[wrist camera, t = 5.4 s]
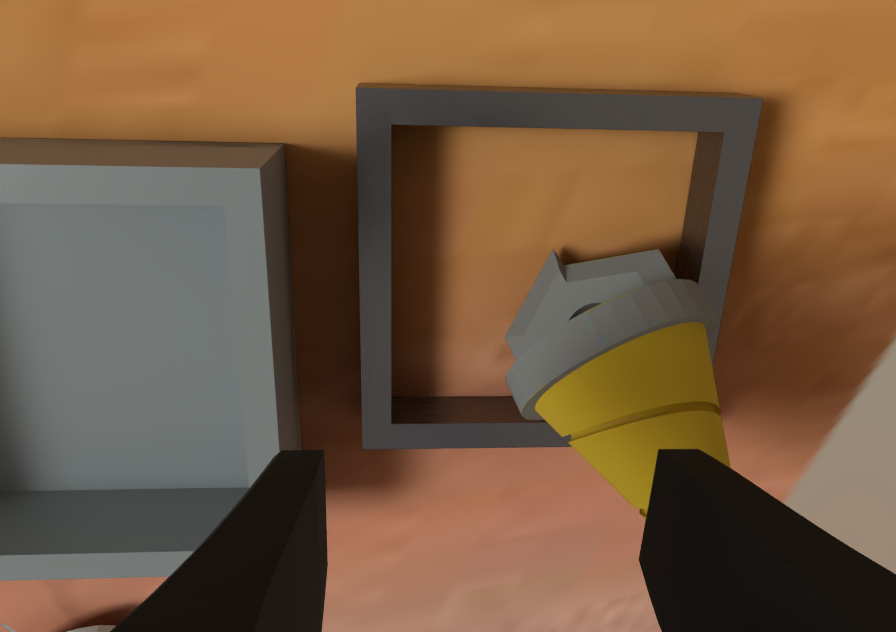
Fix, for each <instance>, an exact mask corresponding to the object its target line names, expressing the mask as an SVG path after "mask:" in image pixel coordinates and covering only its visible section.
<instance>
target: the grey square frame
mask: <svg viewBox="0 0 896 632" xmlns="http://www.w3.org/2000/svg"><path fill="white" fill-rule="evenodd" d="M762 101H763V98H759V97H754V96H749V95H743V94H738V93H717V92H680V91H642V90H604V89H567V88H529V87H491V86H454V85H416V84H378V83H359V84H358V85H357V87H356V124H357V179H358V234H359V290H360V345H361V401H362V449H437V448H518V447H572V446H571V445H570V444H569V443H568V441H569V440H571V434H569V435H567V436H564V437H562V436H561V435H560V434H559V433H558V432H557V431H556V430H555V429H554V428H553V427H552V426H551V425H550V424H548V423H547V422H546V421H545V420H544V419H542V420H528V419H525V418H524V417H523V416H522V415H521V413H520V411H519V409H518V406H517V404H516V402H515V400H514V398H513V397H431V398H392V125H431V126H476V127H521V128H566V129H611V130H656V131H699V132H698V138H697V144H696V151H695V157H694V163H693V170H692V176H691V182H690V188H689V195H688V201H687V207H686V214H685V220H684V226H683V232H682V239H681V245H680V251H679V258H678V264H677V270H676V276H675V277H676V279H685V280H692V281H694V282H696V283H697V284H698V286H699V287H700V289H701V290H702V292H703V294H704V295H705V297H706V298H707V300H708V302H709V303H710V305H711V307H712V308H713V310H714V311H715V313H716V315H717V316H718V319H719V323H718V325H717V327H716V329H715V330H714V331H713V333H712V334H711V335H710V336H709V337H708V338H707V340H708V346H709V351H710V357H711V362H712V366H713V360H714V355H715V350H716V345H717V339H718V334H719V329H720V323H721V318H722V313H723V308H724V302H725V297H726V292H727V286H728V281H729V276H730V271H731V265H732V260H733V255H734V249H735V244H736V239H737V234H738V228H739V223H740V218H741V212H742V207H743V202H744V197H745V191H746V186H747V181H748V175H749V170H750V165H751V160H752V154H753V149H754V144H755V138H756V133H757V128H758V123H759V117H760V112H761V107H762Z"/></svg>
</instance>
